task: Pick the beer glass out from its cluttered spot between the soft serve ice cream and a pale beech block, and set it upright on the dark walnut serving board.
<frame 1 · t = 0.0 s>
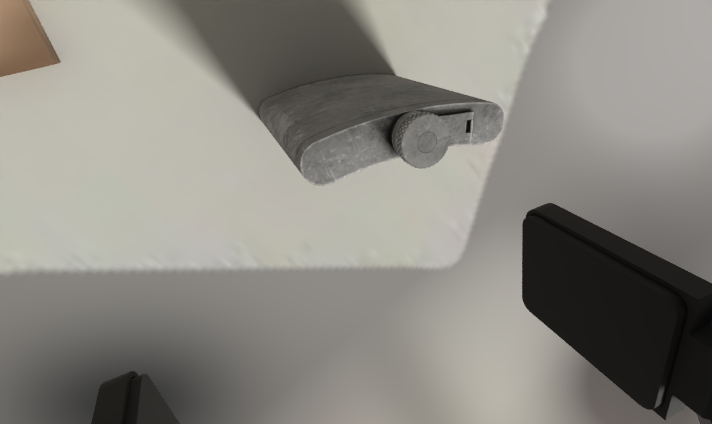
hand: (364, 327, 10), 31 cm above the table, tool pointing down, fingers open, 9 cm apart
flask: (332, 95, 39), on the table
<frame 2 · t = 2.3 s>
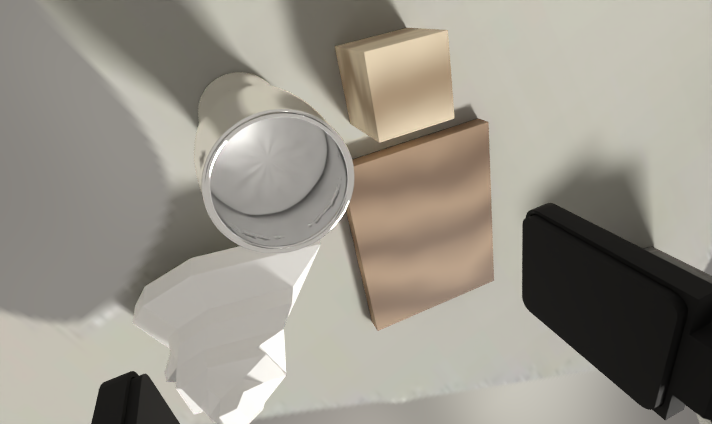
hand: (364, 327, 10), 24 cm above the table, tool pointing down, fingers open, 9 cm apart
flask: (613, 264, 55), on the table
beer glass: (241, 114, 30), on the table
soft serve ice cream: (228, 288, 36), on the table
beech block: (377, 76, 33), on the table
serving board: (421, 227, 40), on the table
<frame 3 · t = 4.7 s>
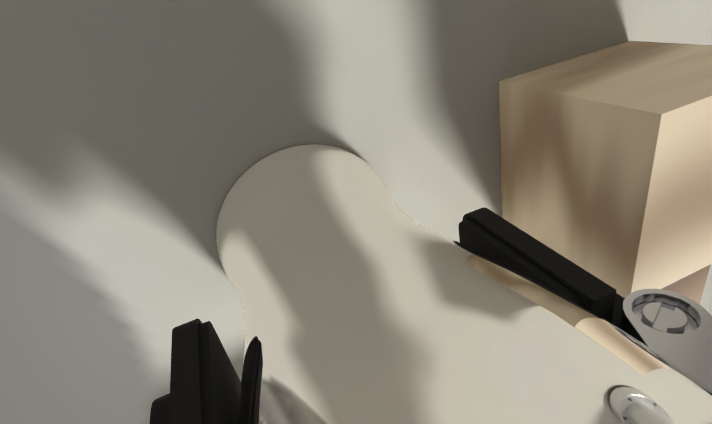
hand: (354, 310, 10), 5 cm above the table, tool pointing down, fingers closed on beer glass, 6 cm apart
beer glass: (306, 226, 15), on the table, touching gripper
beech block: (560, 135, 17), on the table
serving board: (577, 365, 24), on the table
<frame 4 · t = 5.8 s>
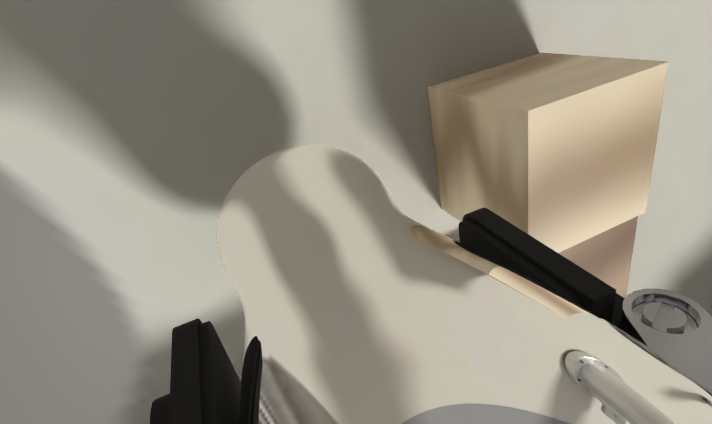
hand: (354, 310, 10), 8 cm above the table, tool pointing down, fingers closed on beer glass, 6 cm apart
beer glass: (306, 226, 15), point 3 cm above the table, touching gripper
beech block: (487, 132, 20), on the table
serving board: (524, 339, 27), on the table
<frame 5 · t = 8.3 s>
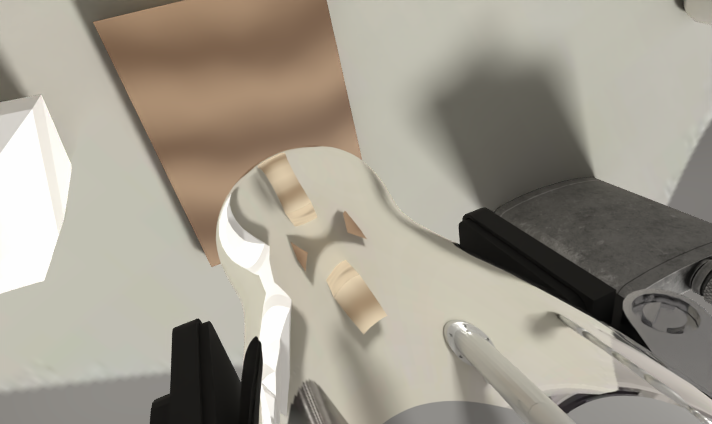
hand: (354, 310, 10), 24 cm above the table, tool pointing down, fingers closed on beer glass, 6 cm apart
flask: (544, 198, 45), on the table
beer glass: (306, 227, 15), point 19 cm above the table, touching gripper
serving board: (257, 127, 31), on the table
when the fingers open (7 cm above the table, at t = 12.1 s): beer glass stays where it is, resting on serving board.
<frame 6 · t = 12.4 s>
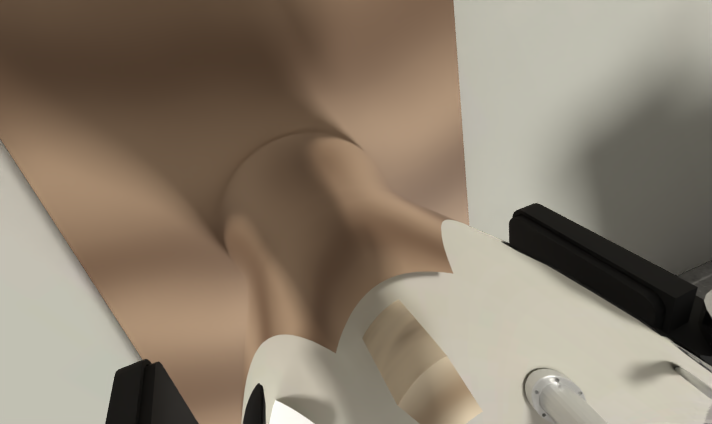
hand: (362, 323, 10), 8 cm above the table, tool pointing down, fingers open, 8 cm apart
flask: (695, 280, 31), on the table
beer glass: (305, 210, 15), point 1 cm above the table, touching serving board
serving board: (291, 203, 16), on the table
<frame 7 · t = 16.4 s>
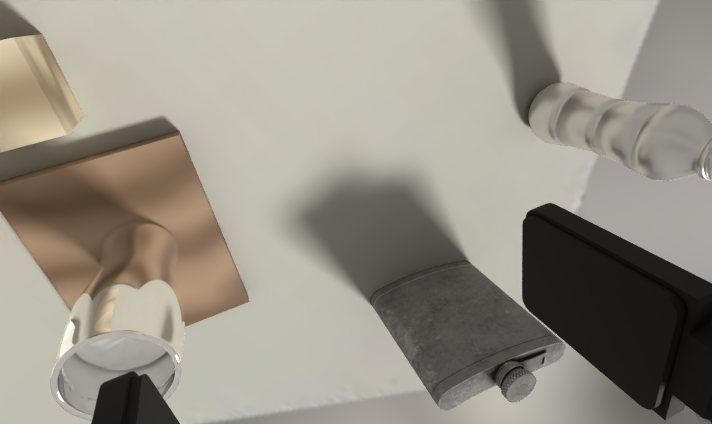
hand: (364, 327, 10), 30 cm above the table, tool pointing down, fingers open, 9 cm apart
flask: (422, 280, 52), on the table
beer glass: (141, 251, 36), point 1 cm above the table, touching serving board
beech block: (20, 87, 30), on the table
plastic bottle: (542, 109, 48), on the table
serving board: (140, 247, 38), on the table
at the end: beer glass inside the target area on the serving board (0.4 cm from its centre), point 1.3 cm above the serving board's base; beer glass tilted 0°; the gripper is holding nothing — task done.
